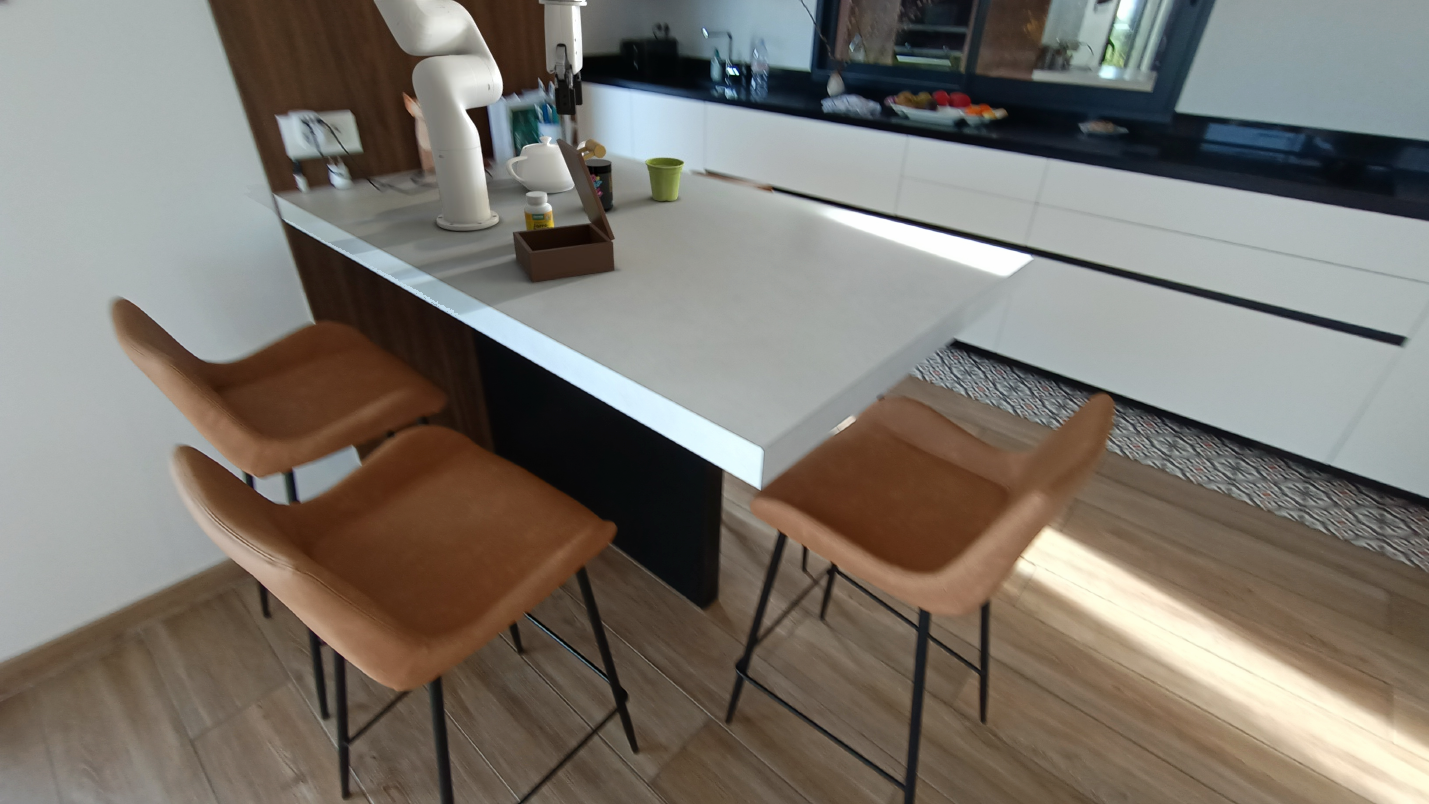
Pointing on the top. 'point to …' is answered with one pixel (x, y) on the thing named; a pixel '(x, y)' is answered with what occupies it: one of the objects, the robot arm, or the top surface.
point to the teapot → (542, 167)
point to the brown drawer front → (586, 181)
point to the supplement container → (602, 180)
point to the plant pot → (664, 177)
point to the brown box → (563, 251)
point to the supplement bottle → (538, 211)
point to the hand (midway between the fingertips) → (570, 109)
